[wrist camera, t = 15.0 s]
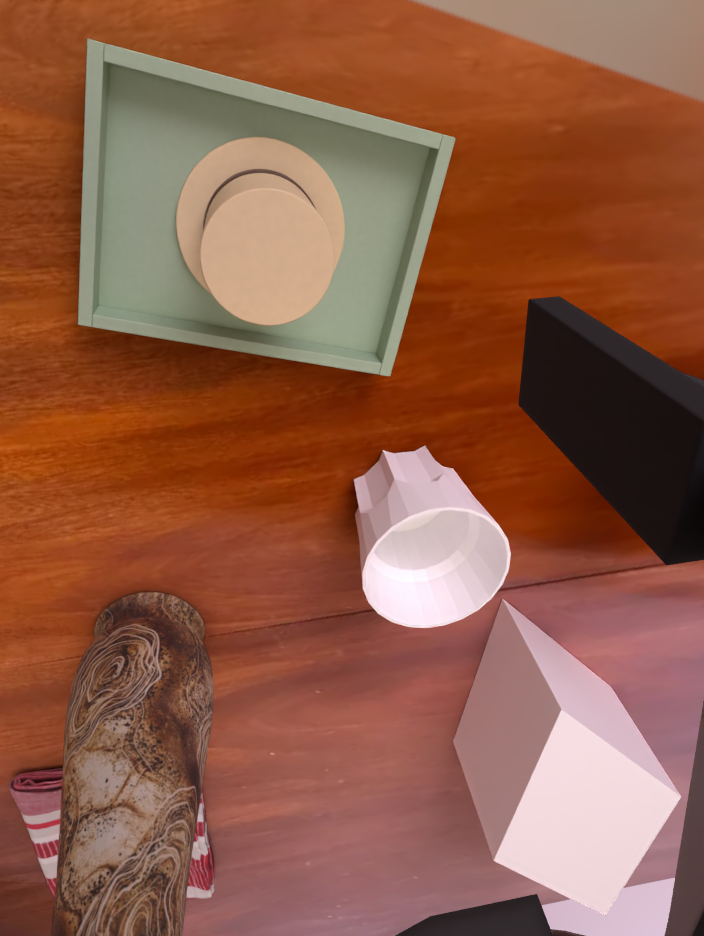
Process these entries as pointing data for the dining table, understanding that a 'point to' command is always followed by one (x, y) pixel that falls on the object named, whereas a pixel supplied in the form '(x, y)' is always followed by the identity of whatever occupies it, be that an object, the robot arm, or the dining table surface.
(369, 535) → the cup
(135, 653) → the vase
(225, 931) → the dining table surface
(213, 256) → the hat
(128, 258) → the tray
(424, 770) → the dining table surface
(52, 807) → the dish towel
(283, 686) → the dining table surface
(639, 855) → the block
